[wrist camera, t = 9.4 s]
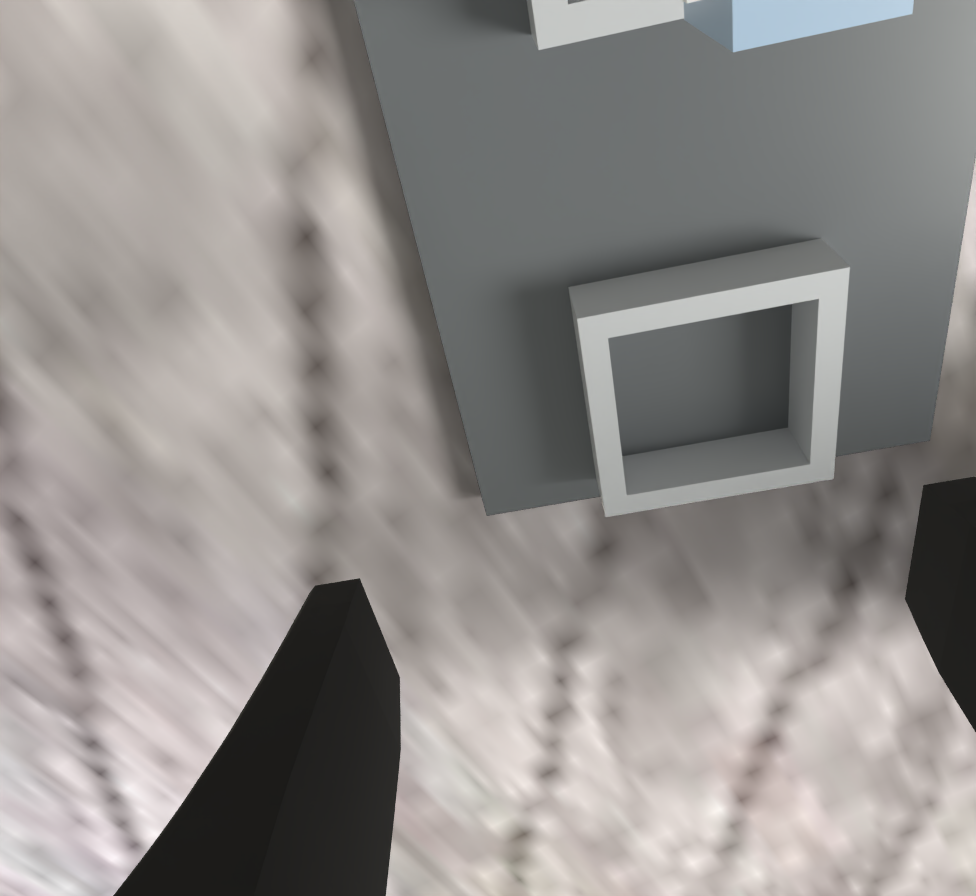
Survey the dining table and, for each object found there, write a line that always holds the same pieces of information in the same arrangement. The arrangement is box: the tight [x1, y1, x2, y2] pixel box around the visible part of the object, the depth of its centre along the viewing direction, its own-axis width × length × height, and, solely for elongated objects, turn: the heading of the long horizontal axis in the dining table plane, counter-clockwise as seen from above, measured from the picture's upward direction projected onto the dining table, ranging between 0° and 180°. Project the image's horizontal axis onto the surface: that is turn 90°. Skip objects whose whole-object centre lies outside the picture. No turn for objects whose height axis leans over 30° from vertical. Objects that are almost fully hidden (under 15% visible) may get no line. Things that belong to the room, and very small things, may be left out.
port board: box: [354, 0, 976, 517], centre depth 16 cm, size 12×18×2 cm, turn 11°
